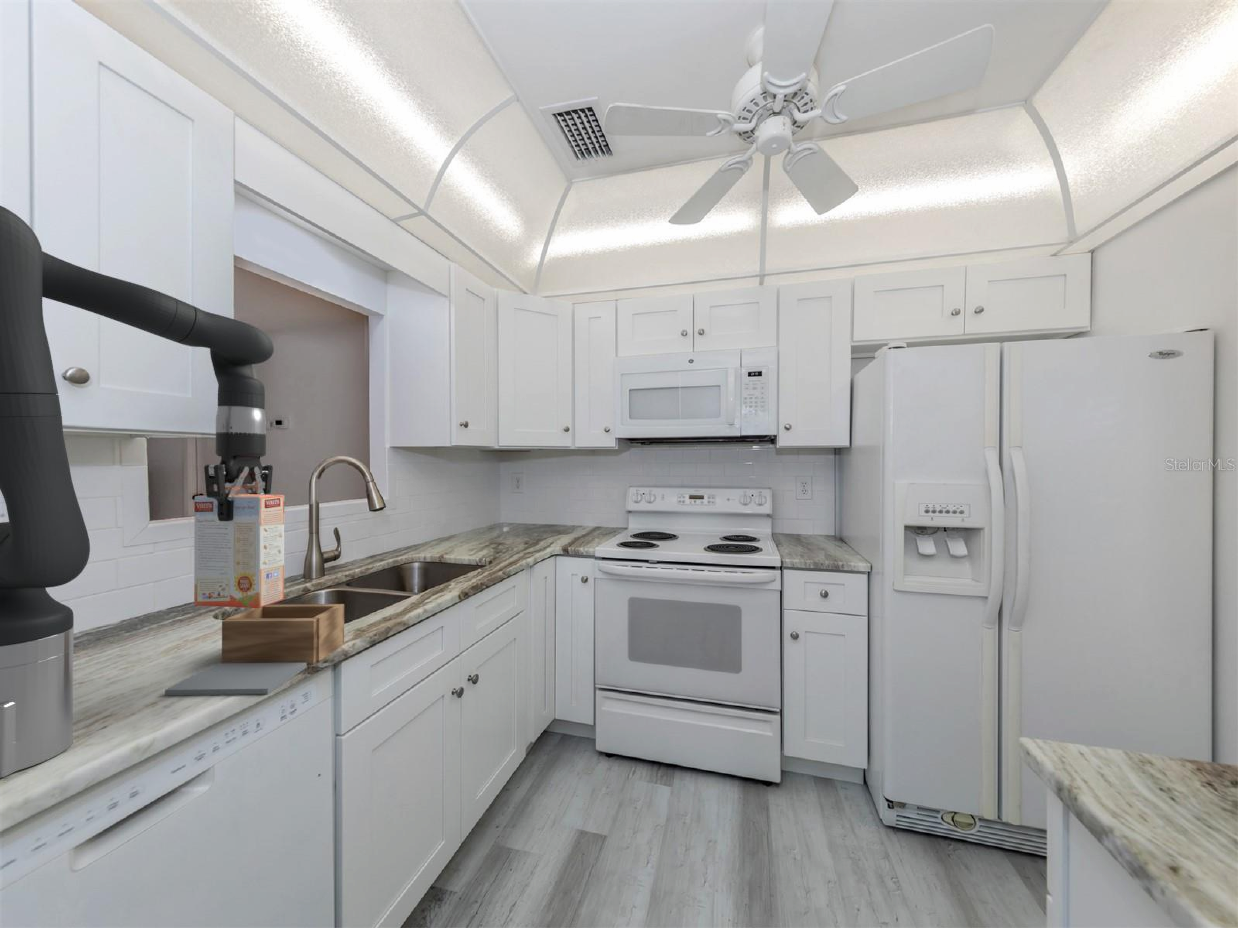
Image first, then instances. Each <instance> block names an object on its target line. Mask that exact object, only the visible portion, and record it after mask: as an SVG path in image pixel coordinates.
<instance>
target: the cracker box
mask: <svg viewBox="0 0 1238 928" xmlns="http://www.w3.org/2000/svg"><path fill="white" fill-rule="evenodd" d="M231 501H234V510H233V520H232V521H219V520H218V516H217V513H218V512H217V506H218V502H217V500H215V499H214V498H208V497H207V495H206V494H205V495H203V494H202V495H195V496H194V503H193V504H194V528H193V529H194V531H193V533H194V537H193V538H194V549H193V550H194V556H193V557H194V563H193V564H194V567H193V568H194V572H193V573H194V575H193V577H194V579H193V580H194V583H193V584H194V585H193V587H194V594H193V595H194V606H197V607H198V606H200V607H201V606H202V607H223V608H224V607H225V608H242V609H243V608H247V609H251V608H261V607H264V606H267V605H271V604H277V603H280V602H281V601H284V600H285V495H283V494H266V495H261V494H247V493H235V496H234V498H233V500H231Z"/></svg>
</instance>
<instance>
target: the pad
mask: <svg viewBox="0 0 1238 928" xmlns="http://www.w3.org/2000/svg"><path fill="white" fill-rule="evenodd" d="M307 665H308V664H307V663H222V662H221V663H214V664H212V665H210V666H209V667H207V668H204V669H203V670H200V671H198V672H197V673H195V674H193V675H190V676H189V677H187V678H185V679H183V680H181V681H180V682H177V683H175V684H173V685H171V686H170V687H168V688H165V689H164V696H213V695H214V696H216V695H219V696H221V695H222V696H225V695H226V696H228V695H235V696H236V695H269V694H271V693H272V692H273V691H274V690H276V689H278V688H279V687H280V686H283V684H285V683H286V682H288V681H289V680H291V679H292V678H293V677H295V676H296V675H297V674H300V673H301V672H302V671H304V670H306V668H307Z"/></svg>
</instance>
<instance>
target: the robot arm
mask: <svg viewBox="0 0 1238 928" xmlns="http://www.w3.org/2000/svg"><path fill="white" fill-rule="evenodd" d="M43 298H45V299H47V300H51V301H56V302H57V303H62V304H64V305H69V306H72V307H75V308H78V309H81V310H85V311H87V312H90V313H93V314H96V315H99V316H102V317H105V318H107V319H111V320H114V321H116V322H119V323H120V324H121V323H122V324H123V325H124V324H125V325H127V326H130V327H132V328H136V329H138V330H141V331H144V332H146V333H149V334H152V335H155V336H158V337H160V338H162V339H166V340H169V341H171V342H175V343H178V344H180V345H184V346H187V347H188V346H189V347H192V348H193V347H195V348H206V349H209V351H210V352H209V354H210V359H211V364H212V367H213V372H214V376H215V378H216V381H217V385H218V388H217V411H216V414H215V415H216V416H215V455H216V456H218V457H220V462H219V464H205V465H204V468H203V469H204V471H203V472H204V479H205V480H204V483H205V493H206V494H205V495H207V497H208V498H214V499H215V500H217V502H218V506H217V512H218V513H217V516H218V520H219V521H232V520H233V510H234V501H231V500H233V498H234V496H235V494H237V491H239V490H240V489H241V488H242V489H244V490H245V492H246V494H261V495H271V493H272V483H273V482H272V481H273V471H274V470H273V469H274V468H273V465H271V464H262V463H261V458H263V457H265V456H266V455H267V418H266V413H265V412H266V410H265V409H266V407H265V406H266V405H265V402H266V401H265V400H266V397H265V396H266V391H265V390H266V389H265V385H264V384H263V382H262V381H261V380H260V379H257V378H255V375H254V371H253V365H258V364H263V363H265V362H267V361H268V360H269V359H270V358H271V357H272V356H273V354H274V350H275V349H274V344H273V342H272V340H271V338H270V337H269V336H268V334H266V333H265V332H264V331H263V330H261V329H260V328H258V327H256V326H254V325H251V324H250V323H247V322H244V321H241V320H238V319H234V318H231V317H227V316H224V315H220V314H218V313H217V314H216V313H213V312H209V311H206V310H203V309H200V308H199V307H196V306H194V305H192V304H190V303H187V302H185V301H183V300H180V299H178V298H176V297H173V296H172V295H169V294H166V293H164V292H161V291H158V290H156V289H153V288H150V287H148V286H144V285H141V284H138V283H135V282H131V281H127V280H124V279H121V278H116V277H113V276H109V275H106V274H103V273H99V272H96V271H93V270H90V269H87V268H85V267H83V266H79V265H76V264H73V263H71V262H68V261H66V260H63V259H61V258H59V257H56V256H54V255H51V254H50V253H47V252H45V251H43V248H42V245H41V243H40V240H39V237H38V236H37V235H36V233H35V232H34V231H33V229H32V227H31V226H30V225H28V223H27V222H26V221H24V220H23V219H22V218H21V217H20V216H19V215H18V214H16V213H14V212H13V211H11V210H10V209H8V208H7V207H4V206H2V205H0V492H1V495H2V496H3V497H2V498H3V499H4V502H5V506H6V513H7V516H8V518H7V519H8V521H3V522H0V778H5V777H7V776H9V775H11V774H13V773H16V772H18V771H21V770H24V769H26V768H27V769H28V768H30V767H32V766H33V767H34V766H35V765H37V764H40V763H43V762H46V761H48V760H49V759H52V758H54V757H56V756H58V755H59V754H61V753H63V752H65V751H66V750H67V749H69V747H71V745H72V744H73V737H74V736H73V735H74V733H73V732H74V635H75V634H74V632H75V631H74V618H75V617H74V612H73V609H72V608H71V607H69V606H68V605H65V604H63V603H61V602H59V601H58V600H56V599H55V598H53V597H52V596H51V595H50V593H49V592H48V591H47V589H48V588H55V587H60V586H64V585H66V584H68V583H70V582H72V581H73V580H75V579H76V578H78V576H80V575H81V574H82V572H83V571H84V569H85V568H86V566H87V565H88V562H89V559H90V552H91V544H90V537H89V533H88V530H87V527H86V526H87V525H86V523H85V520H84V516H83V513H82V510H81V506H80V504H79V501H78V497H77V495H76V494H77V493H76V491H75V487H74V483H73V480H72V475H71V468H70V463H69V457H68V452H67V448H66V443H65V436H64V428H63V416H62V415H63V413H62V409H61V404H60V401H61V400H60V395H59V391H58V390H59V389H58V386H57V381H56V378H55V371H54V365H53V360H52V353H51V349H50V344H49V340H48V336H47V332H46V328H45V321H44V310H43ZM215 485H216V490H215ZM263 486H264V487H263ZM226 491H227V492H226Z"/></svg>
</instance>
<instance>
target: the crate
mask: <svg viewBox="0 0 1238 928" xmlns="http://www.w3.org/2000/svg"><path fill="white" fill-rule="evenodd" d="M344 643H345V604H344V603H324V604H323V603H321V604H320V603H314V604H313V603H311V604H310V603H309V604H306V603H305V604H300V603H299V604H297V603H296V604H295V603H293V604H292V603H291V604H289V603H288V604H282V603H281V604H279V603H278V604H277V603H273V604H270V605H267V606H264V607H261V608H248V609H247V610H244V611H241V612H238V613H237V614H235V615H231V616H229V617H226V618H224V620H222V621H221V663H307V665H309V664H310V665H311V664H312V665H313V664H315V663H316V662H321V660H323V659H324V658H326V657H327V656H329V655H330V654H332V653H333V652H335V651H336V650H338V649H339V648H340V647H342V646H343V645H344Z"/></svg>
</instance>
